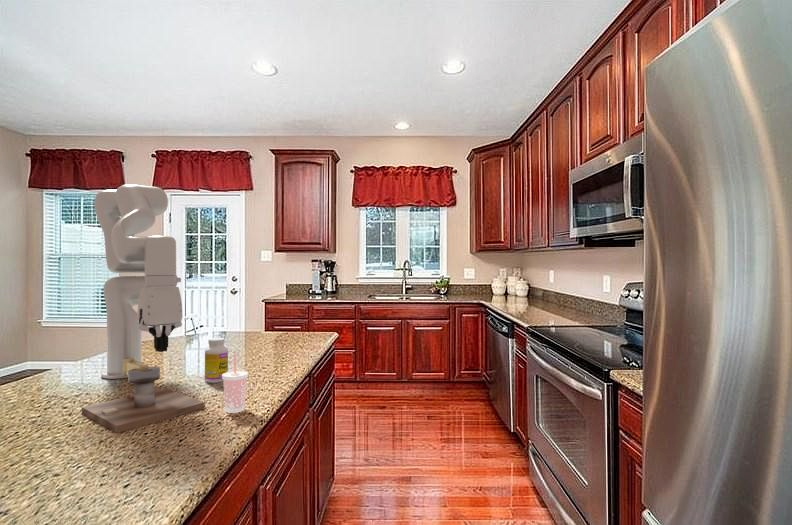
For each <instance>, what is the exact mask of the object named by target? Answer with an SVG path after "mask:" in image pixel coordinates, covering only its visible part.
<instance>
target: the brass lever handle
mask: <svg viewBox="0 0 792 525" xmlns="http://www.w3.org/2000/svg"><path fill="white" fill-rule="evenodd" d="M123 376H128V378H127V382H128V383H131V384H134V383H148V382H153V381H154V382H156V381H158V380H160V379H161V368H160V367H159V366H150V365H149V364H148V363H145V362H142V361H141V362H138V361H135V358H126V359H123Z"/></svg>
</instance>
